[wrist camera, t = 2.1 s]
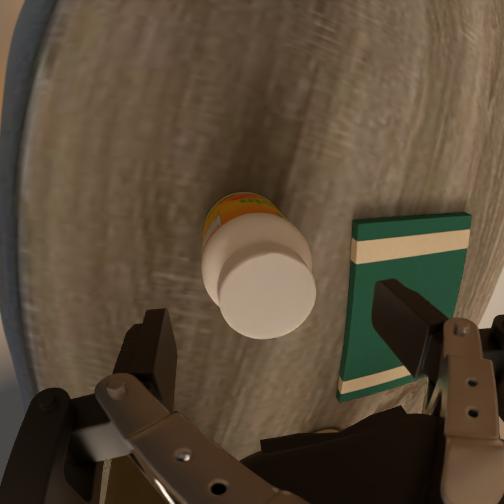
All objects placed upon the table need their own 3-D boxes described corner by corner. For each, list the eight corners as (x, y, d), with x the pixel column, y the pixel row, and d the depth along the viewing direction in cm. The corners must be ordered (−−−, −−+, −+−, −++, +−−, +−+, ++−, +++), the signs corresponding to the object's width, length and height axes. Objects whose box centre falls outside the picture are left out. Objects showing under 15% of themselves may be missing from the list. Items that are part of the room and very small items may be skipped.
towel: (351, 220, 22) (358, 223, 21) (464, 212, 24) (472, 214, 23) (335, 396, 29) (339, 403, 28) (430, 368, 30) (435, 373, 29)
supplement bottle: (295, 210, 22) (356, 264, 13) (260, 277, 23) (294, 364, 14) (223, 177, 20) (236, 210, 11) (190, 250, 22) (181, 331, 12)
